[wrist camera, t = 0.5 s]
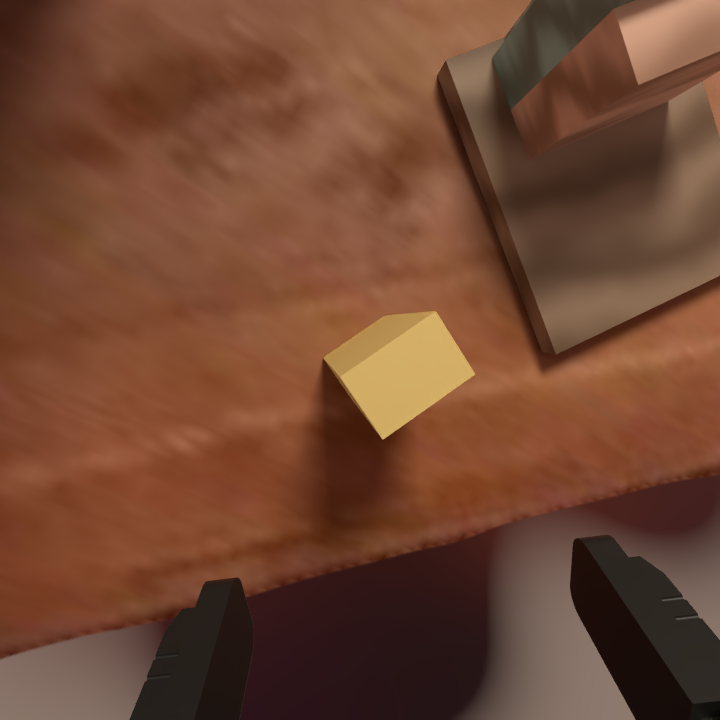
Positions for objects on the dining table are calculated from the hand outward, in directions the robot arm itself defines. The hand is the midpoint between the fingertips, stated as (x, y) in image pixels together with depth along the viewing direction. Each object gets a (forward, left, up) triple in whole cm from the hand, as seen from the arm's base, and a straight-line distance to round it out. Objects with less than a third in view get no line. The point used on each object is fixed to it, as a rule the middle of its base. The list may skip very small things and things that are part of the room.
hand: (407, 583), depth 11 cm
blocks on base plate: (-8, +28, -25) cm, 39 cm away
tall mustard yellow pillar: (-2, +4, -25) cm, 26 cm away
